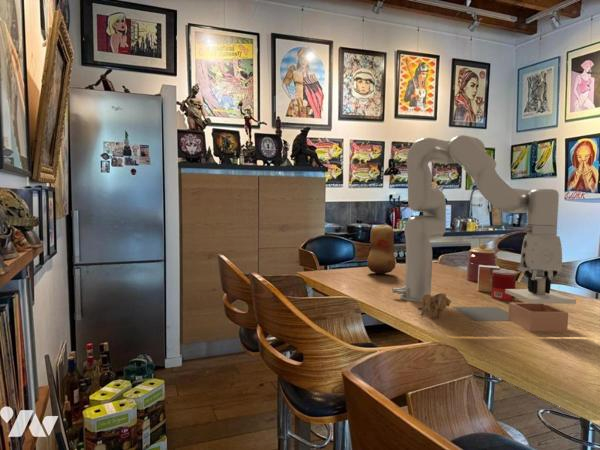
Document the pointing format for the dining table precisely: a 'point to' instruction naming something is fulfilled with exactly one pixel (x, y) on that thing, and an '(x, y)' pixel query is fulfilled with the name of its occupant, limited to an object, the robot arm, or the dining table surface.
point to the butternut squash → (381, 250)
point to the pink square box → (538, 317)
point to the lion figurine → (435, 304)
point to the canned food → (503, 284)
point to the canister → (479, 261)
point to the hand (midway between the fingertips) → (538, 292)
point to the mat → (484, 313)
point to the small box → (485, 277)
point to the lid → (540, 294)
